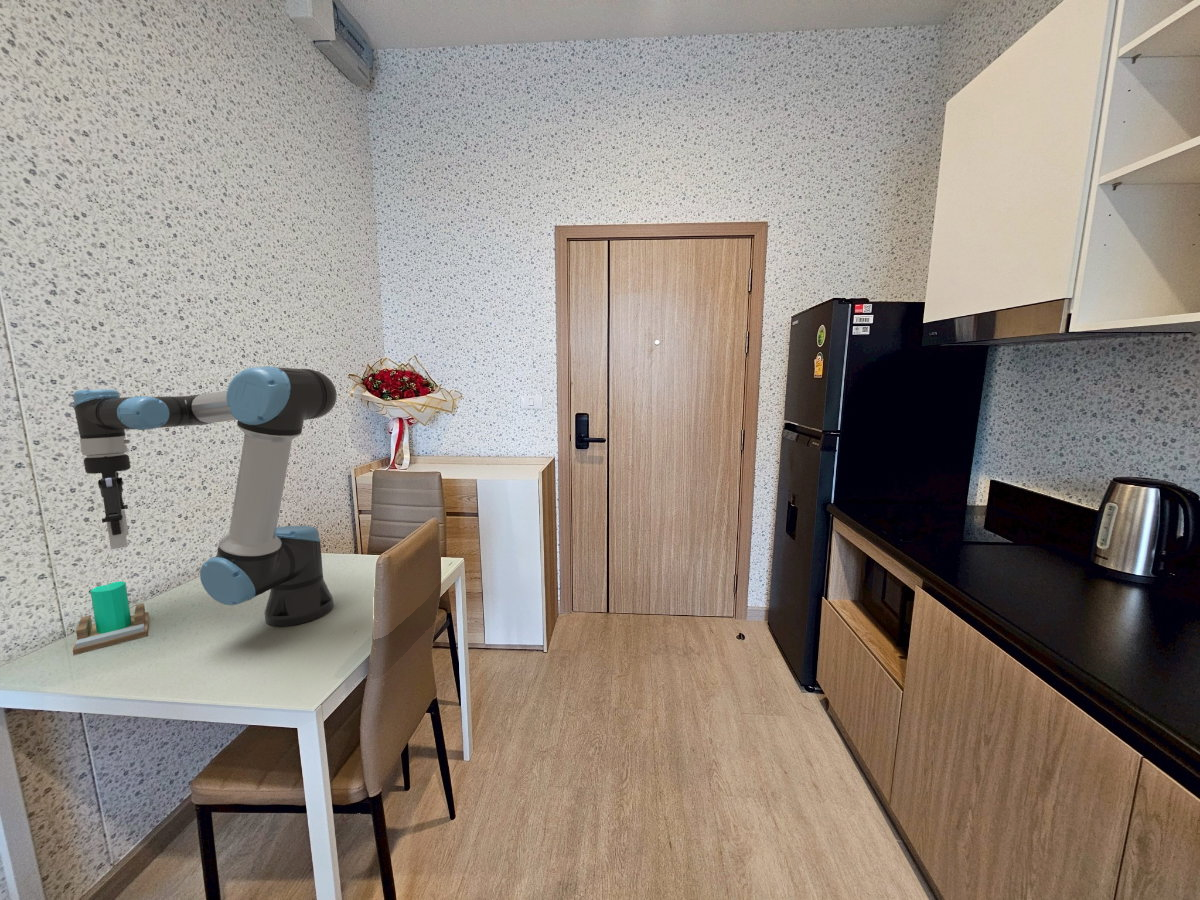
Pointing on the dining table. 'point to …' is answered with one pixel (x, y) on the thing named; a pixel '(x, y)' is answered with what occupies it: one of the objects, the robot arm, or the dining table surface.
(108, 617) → the candle
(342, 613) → the dining table surface
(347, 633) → the dining table surface
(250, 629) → the dining table surface
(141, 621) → the jig
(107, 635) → the wing slat
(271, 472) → the robot arm
